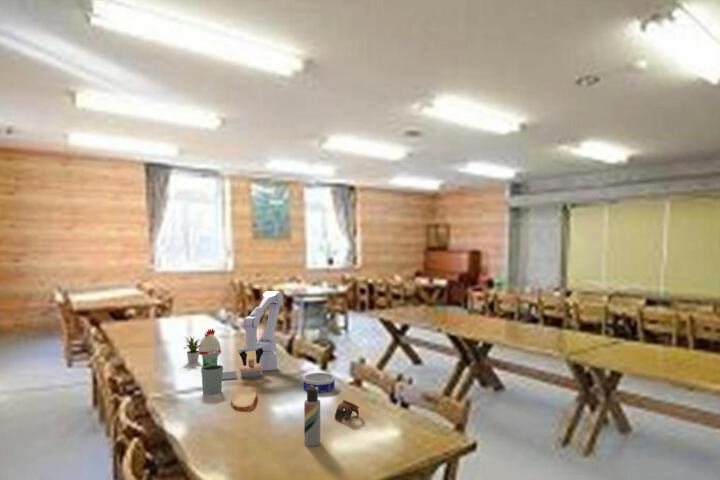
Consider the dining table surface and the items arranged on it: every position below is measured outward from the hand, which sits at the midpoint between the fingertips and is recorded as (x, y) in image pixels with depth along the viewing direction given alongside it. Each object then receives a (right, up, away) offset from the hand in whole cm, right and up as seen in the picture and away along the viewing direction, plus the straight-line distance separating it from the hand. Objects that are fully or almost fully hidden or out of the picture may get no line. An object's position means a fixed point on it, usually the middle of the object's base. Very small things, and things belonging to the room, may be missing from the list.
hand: (251, 364), depth 263 cm
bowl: (0, -6, 0) cm, 6 cm away
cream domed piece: (-40, -6, +57) cm, 69 cm away
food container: (-24, -6, +12) cm, 28 cm away
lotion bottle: (+41, -6, -88) cm, 97 cm away
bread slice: (+8, -7, -44) cm, 45 cm away
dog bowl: (+38, -6, -22) cm, 45 cm away
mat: (-16, -6, -2) cm, 17 cm away
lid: (0, -2, 0) cm, 2 cm away
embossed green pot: (-12, -6, -28) cm, 31 cm away
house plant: (-42, -6, +30) cm, 52 cm away
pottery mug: (+53, -6, -64) cm, 83 cm away
